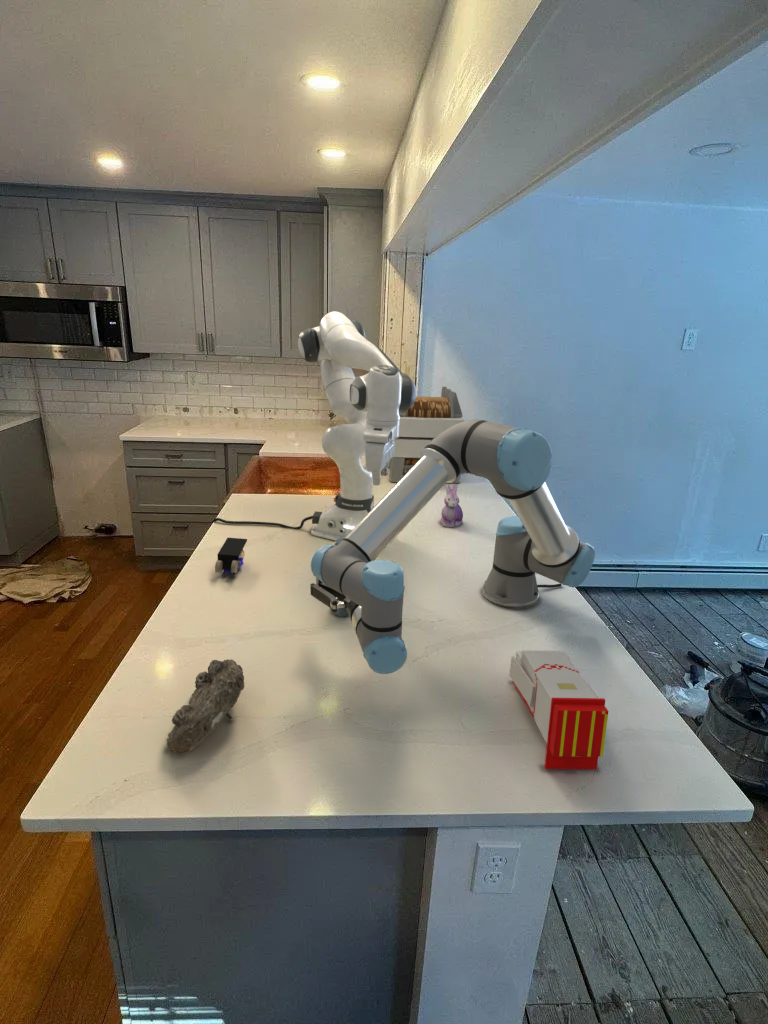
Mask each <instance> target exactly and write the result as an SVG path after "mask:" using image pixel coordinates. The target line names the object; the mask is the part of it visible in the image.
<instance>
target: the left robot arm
mask: <svg viewBox="0 0 768 1024" xmlns="http://www.w3.org/2000/svg"><path fill="white" fill-rule="evenodd" d="M297 347H298V352H299V353H300V355H301V357H302V359H303V360H304V361H306V362H307V363H318V362H320V376H321V381H322V385H323V388H324V392H325V395H326V398H327V401H328V404H329V407H330V408H329V409H330V411H331V413H333V415H335V416H336V417H338V418H340V419H342V420H343V421H344V422H346V423H342V424H337V425H334V426H331V427H328V428H327V429H325V430H324V432H323V434H322V437H321V447H322V450H323V452H324V453H325V455H326V456H328V457H329V458H330V459H332V461H333V462H334V463H335V465H336V466H337V470H338V473H339V482H340V484H339V485H340V488H339V489H340V490H339V491H338V492H337V494H336V495H335V496H334V497H333V502H334V504H333V505H331V506H329V507H328V508H326V509H325V510H323V511H314V512H313V514H312V515H310V516H307V517H305V518H303V519H302V520H301V522H300V525H299V526H290V525H287V524H285V523H284V524H283V523H279V522H268V521H251V520H249V521H248V520H239V521H238V520H226V519H223V518H221V517H215V518H213V519H212V520H211V523H215V522H221V523H224V524H226V525H227V524H228V525H260V526H261V525H262V526H275V527H281V528H284V529H291V530H301V529H302V528H303V527H304V524H305V522H307V521H310V520H311V524H312V525H313V526H312V528H311V530H310V533H311V536H315V537H319V538H323V539H326V540H330V541H335V540H337V539H339V538H345V537H346V536H347V535H348V534H349V533H350V532H351V531H352V530H353V529H354V528H355V527H356V525H357V524H358V523H359V522H360V521H361V520H362V519H363V518H364V517H365V516H366V515H367V514H368V513H369V512H370V511H371V510H372V509H373V508H374V507H375V496H374V486H380V485H381V483H382V482H381V480H382V478H381V477H387V475H388V474H389V468H390V467H389V463H390V459H391V458H392V457H393V456H394V453H395V438H398V437H399V427H400V415H399V412H405V411H407V410H408V409H409V408H410V407H411V406H412V405H413V404H414V402H415V400H416V397H417V395H418V391H417V386H416V384H415V382H414V380H413V379H412V378H411V377H410V376H409V375H408V374H406V373H404V372H403V371H401V370H400V368H398V366H397V365H396V364H395V363H394V362H393V360H392V359H391V358H389V356H388V355H387V354H386V353H385V352H384V351H383V350H382V349H381V348H380V347H378V346H377V345H375V344H374V343H372V342H371V341H369V340H368V339H367V338H366V333H365V329H364V327H363V325H362V324H361V322H360V321H358V320H357V319H349V318H348V317H347V316H346V314H344V313H342V312H341V311H330V312H328V313H326V314H324V315H323V317H322V318H321V320H320V322H319V325H318V326H315V327H312V328H309V327H308V328H306V329H304V330H302V331H301V332H300V333H299V335H298V339H297ZM353 369H358V370H363V371H368V372H367V373H366V374H363V375H360V376H357V377H356V376H355V372H354V371H353ZM364 456H365V466H364V465H363V464H362V457H364Z"/></svg>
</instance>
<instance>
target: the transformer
mask: <svg viewBox="0 0 768 1024" xmlns="http://www.w3.org/2000/svg"><path fill="white" fill-rule="evenodd" d="M440 393H441V394H440V396H417V397H416V400H415V402H414V404H413V405H412V406H411V407H410V408H409V409H408V410H407V411H405V412H399V415H400V427H399V437H398V438H395V453H394V456H393V457H392V458H391V459H390V463H389V467H388V468H389V475H388V476H389V477H388V478H389V480H390V482H391V483H398V482H399V481H400V479H401V478H402V477H403V476H404V469H405V466H406V467H407V466H411V467H413V466H414V465H415V464H416V463H417V462H418V461H419V460H420V452H421V451H422V450H423V449H424V448H425V447H426V445H428V444H429V443H430V442H431V441H432V440H433V439H434V438H435V437H437V436H438V435H439V434H441V433H442V432H444V431H445V430H447V429H448V428H450V427H452V426H454V425H456V424H458V423H461V422H464V421H466V420H465V419H464V418H463V411H462V408H461V405H460V402H459V398H458V395H457V392H455V391H453V390H452V389H451V388H447V386H442V387H441V392H440ZM459 483H461V475H459V476H458V477H457V478H456V479H455V481H454V482H452V483H451V484H459Z"/></svg>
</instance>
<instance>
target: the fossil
mask: <svg viewBox="0 0 768 1024" xmlns="http://www.w3.org/2000/svg"><path fill="white" fill-rule="evenodd" d="M243 670H244V669H243V667H242V665H240V664H237V662H236V661H235V660H234V659H232V658H231V659H227V658H226V659H224V660H223V661H222V660H217V659H212V660H211V661H210V663H209V665H208V666H207V671H201V672H199V673H198V674H197V675H196V676H195V680H194V684H195V685H194V687H195V689H194V690H193V693H192V694H191V697H190V698H189V700H188V704H184V705H182V706H181V707H180V709H177V710H176V711H175V713H174V715H173V716H172V718H171V723H172V724H173V727H172V730H171V731H170V732H168V734H167V738H166V741H167V742H166V745H167V749H168V750H169V751H173V752H174V753H176V754H178V753H182V752H188V751H189V752H192V751H193V750H195V748H196V747H197V746H199V744H200V743H201V742H203V741H204V740H205V739H206V738H207V737H208V736H209V735H210V734H211V733H212V732H214V730H215V729H217V727H218V726H219V724H220V722H221V721H222V720H223V719H224V718H225V716H226V717H227V719H229V720H233V717H232V715H230V714H229V710H230V709H231V708H234V706H235V704H236V703H237V702H238V699H239V697H240V695H241V693H242V691H243V690H245V689H244V688H245V675H244V671H243Z"/></svg>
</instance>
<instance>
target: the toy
mask: <svg viewBox="0 0 768 1024" xmlns="http://www.w3.org/2000/svg"><path fill="white" fill-rule="evenodd" d="M509 677H510V679H511V681H512V684H513V685H514V687H515V688H516V690H517V692H518V694H519V696H520V697H521V699H522V700H523V703H524V704H525V706H526V708H527V710H528V711H529V713H530V714H531V716H532V718H533V720H534V722H535V724H536V727H537V728H538V730H539V732H540V733H541V736H542V737H543V740H544V742H545V744H546V748H545V757H544V769H545V770H595V771H596V770H598V763H599V758H603V757H604V751H605V744H606V735H607V727H608V720H609V712H610V711H609V710H608V709H607V707H606V699H605V698H602V697H600V698H599V696H598V695H597V694H596V692H595V691H594V690H593V688H592V687H591V686H590V684H589V683H588V682H587V680H586V679H585V678H584V676H583V675H582V674H581V673H580V671H579V669H577V667H576V666H575V664H574V663H573V662H572V660H571V659H570V657H569V656H567V654H566V653H565V651H564V650H532V649H531V650H528V649H526V650H524V649H523V650H516V652H515V656H511V659H510V667H509Z"/></svg>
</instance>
